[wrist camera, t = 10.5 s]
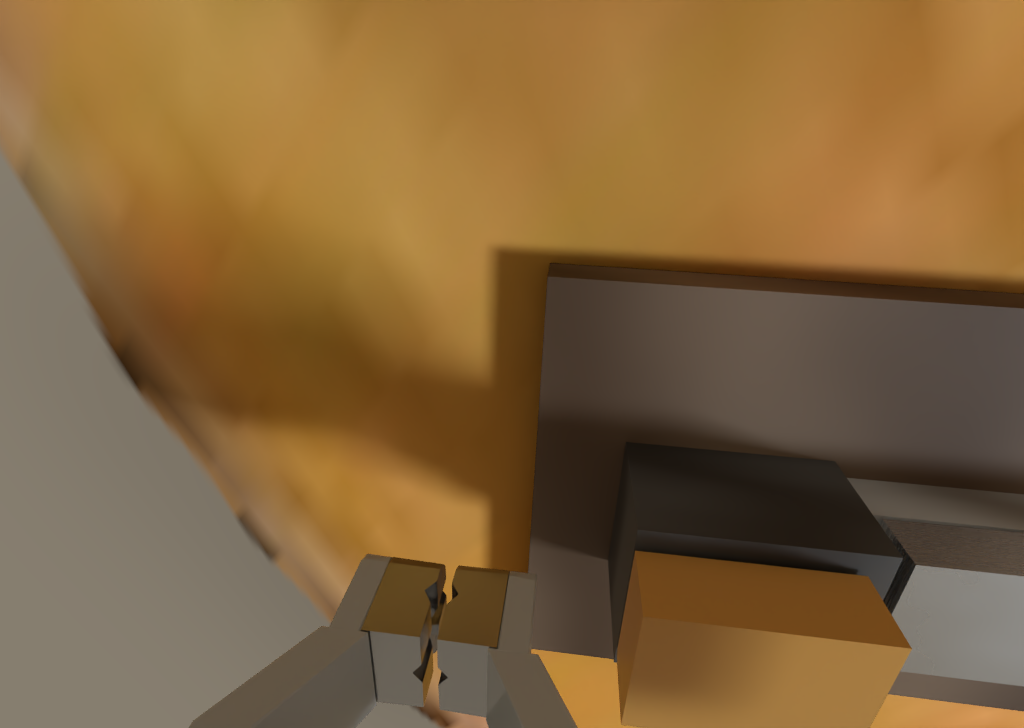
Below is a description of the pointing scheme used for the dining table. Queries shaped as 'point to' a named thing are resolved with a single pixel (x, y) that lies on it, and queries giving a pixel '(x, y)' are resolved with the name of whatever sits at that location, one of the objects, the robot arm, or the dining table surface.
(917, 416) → the board
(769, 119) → the dining table surface
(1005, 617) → the tongs arm
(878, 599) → the tab
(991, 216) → the dining table surface
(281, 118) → the dining table surface
